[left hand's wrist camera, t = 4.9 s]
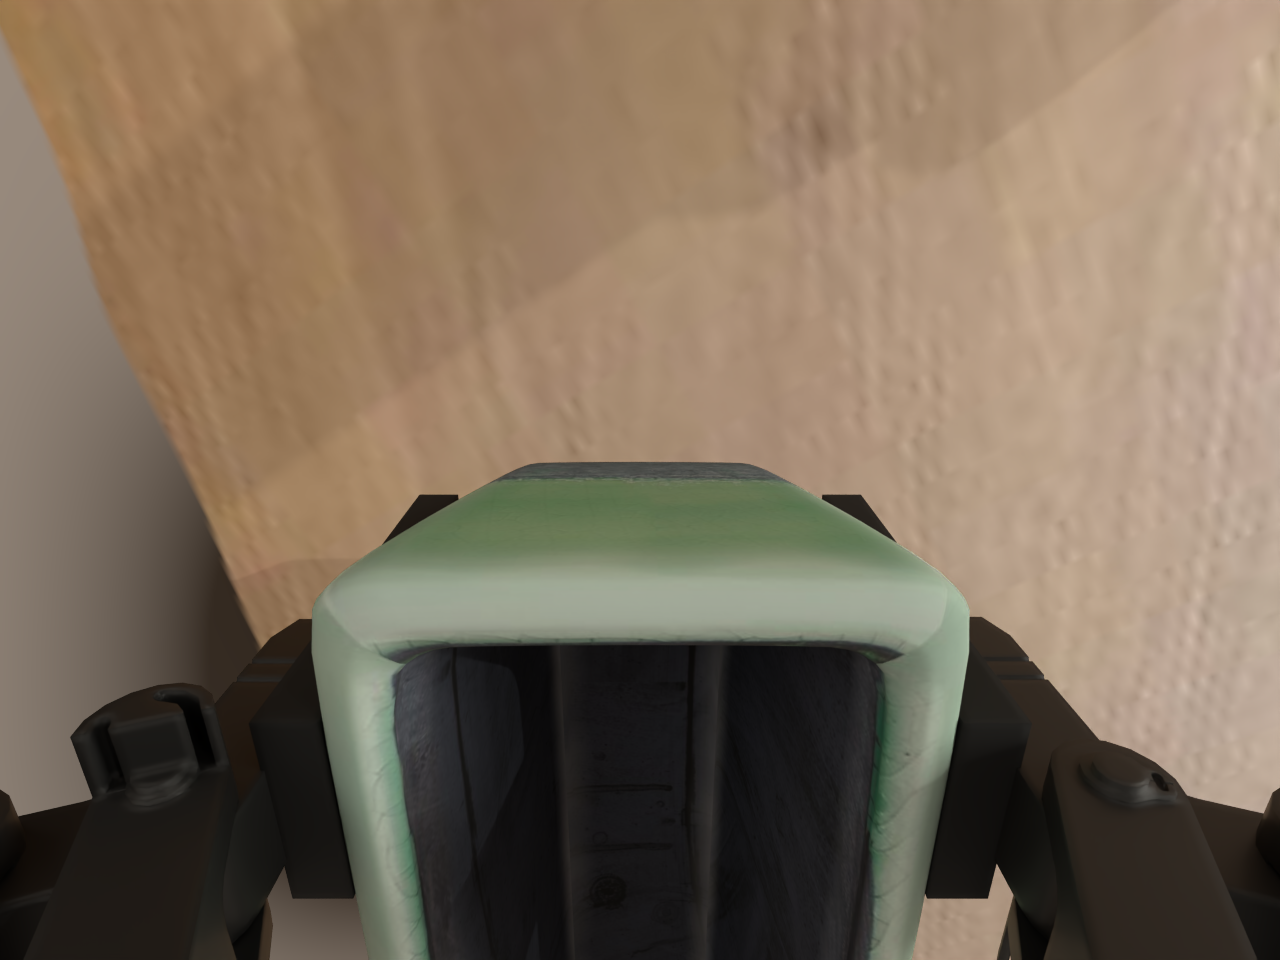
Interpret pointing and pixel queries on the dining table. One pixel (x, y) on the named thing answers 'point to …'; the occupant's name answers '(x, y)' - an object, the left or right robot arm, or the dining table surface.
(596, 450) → the dining table surface
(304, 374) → the dining table surface
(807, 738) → the planter
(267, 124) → the dining table surface
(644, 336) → the dining table surface
